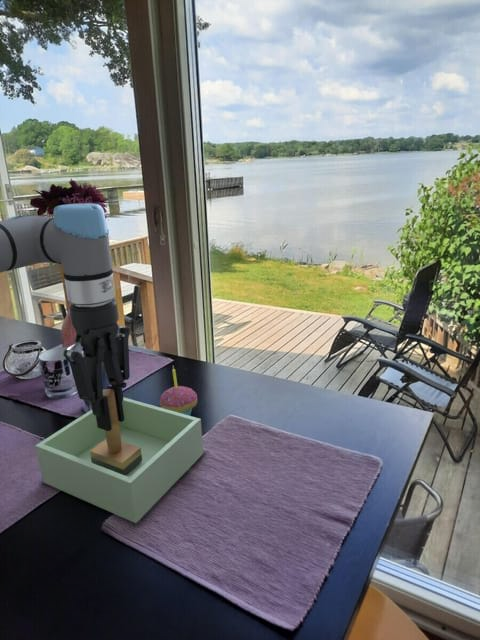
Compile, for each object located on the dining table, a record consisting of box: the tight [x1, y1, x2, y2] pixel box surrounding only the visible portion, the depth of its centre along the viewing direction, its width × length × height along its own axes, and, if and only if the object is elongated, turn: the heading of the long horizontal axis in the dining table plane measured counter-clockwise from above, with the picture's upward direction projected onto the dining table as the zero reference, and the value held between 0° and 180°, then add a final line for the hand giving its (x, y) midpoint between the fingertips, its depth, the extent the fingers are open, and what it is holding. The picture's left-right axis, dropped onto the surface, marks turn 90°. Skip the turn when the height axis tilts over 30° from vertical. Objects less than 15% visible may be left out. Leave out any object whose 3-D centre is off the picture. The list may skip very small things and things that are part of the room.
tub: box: [34, 396, 204, 524], centre depth 83 cm, size 22×20×8 cm
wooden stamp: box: [90, 389, 142, 476], centre depth 81 cm, size 8×5×15 cm, turn 62°
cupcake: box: [159, 365, 198, 416], centre depth 98 cm, size 9×8×12 cm
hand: (111, 423), depth 80 cm, fingers closed on wooden stamp, 3 cm apart
